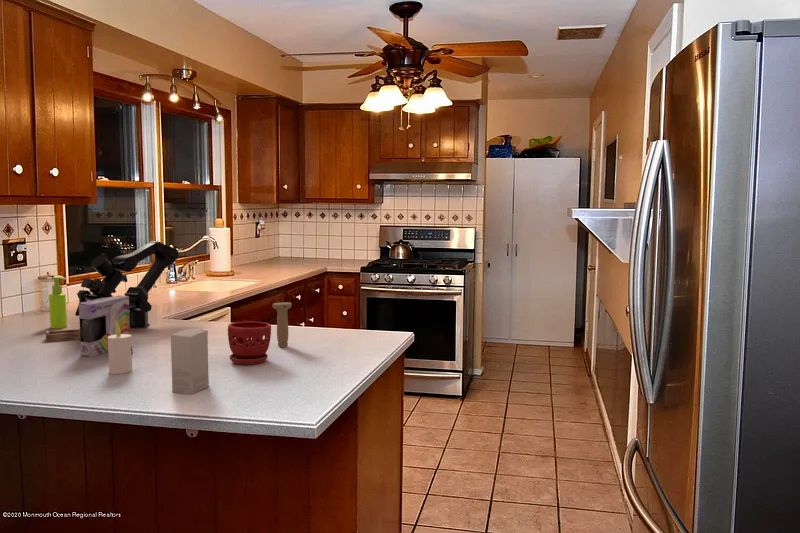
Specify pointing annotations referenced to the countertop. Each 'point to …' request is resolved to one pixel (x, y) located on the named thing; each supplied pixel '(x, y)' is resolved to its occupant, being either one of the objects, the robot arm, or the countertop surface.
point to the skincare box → (189, 361)
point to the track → (62, 335)
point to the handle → (282, 322)
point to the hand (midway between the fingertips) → (83, 316)
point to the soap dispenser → (57, 305)
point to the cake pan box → (102, 323)
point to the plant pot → (249, 342)
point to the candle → (120, 352)
